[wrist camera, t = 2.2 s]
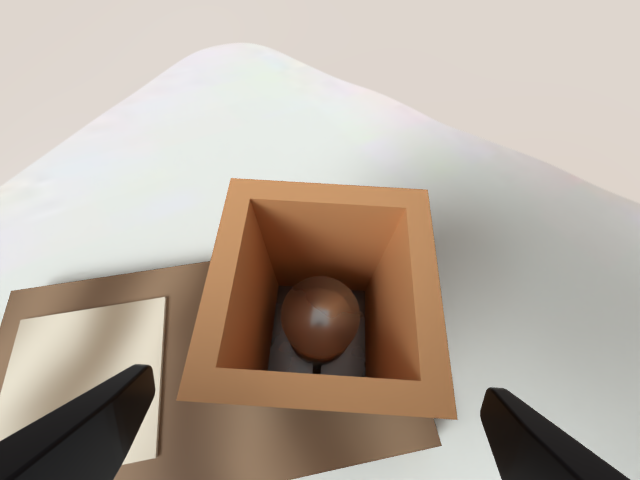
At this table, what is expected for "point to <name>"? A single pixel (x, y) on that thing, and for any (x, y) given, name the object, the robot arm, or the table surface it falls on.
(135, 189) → the table surface
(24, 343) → the board
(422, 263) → the tan cardboard box
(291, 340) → the vise
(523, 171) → the table surface
